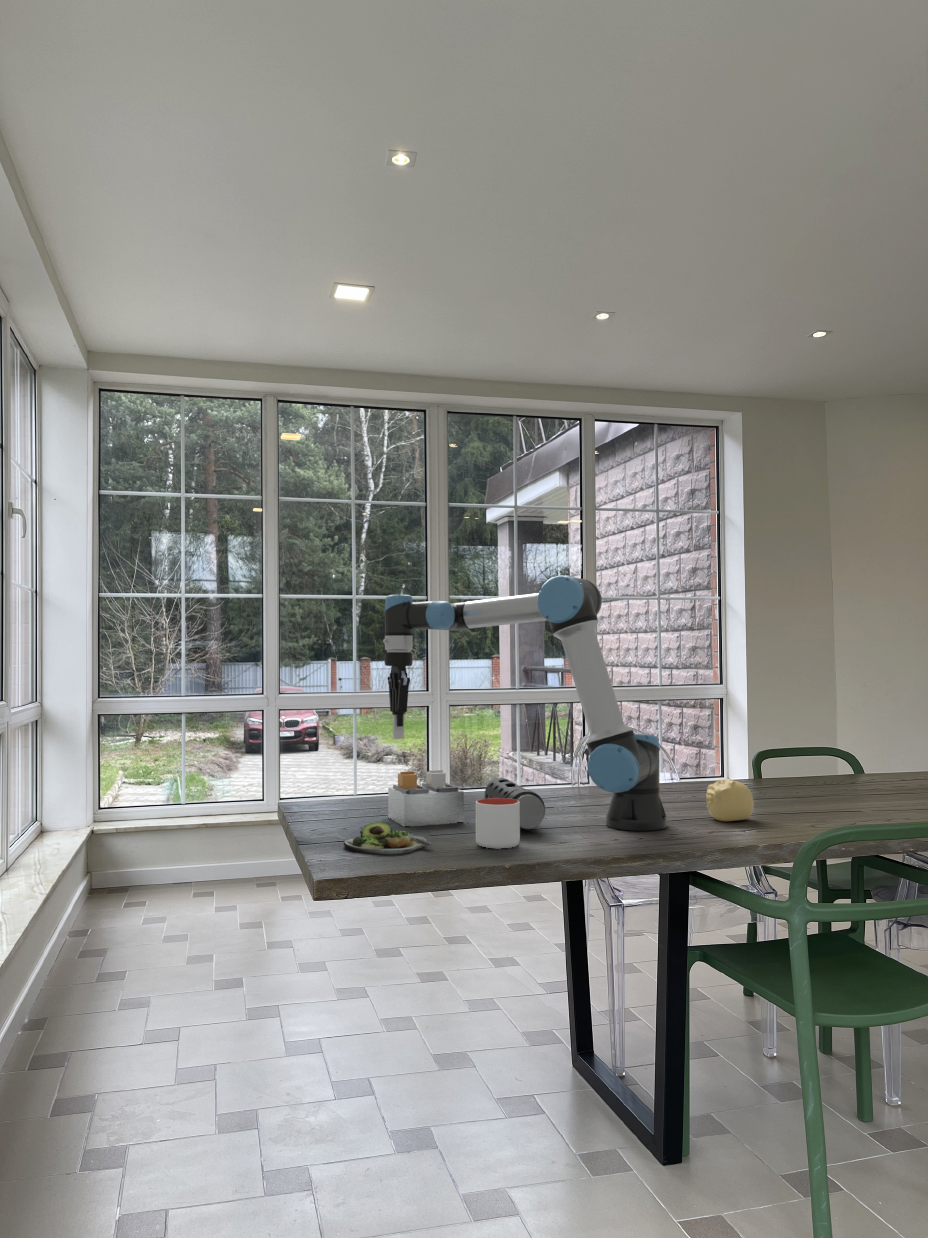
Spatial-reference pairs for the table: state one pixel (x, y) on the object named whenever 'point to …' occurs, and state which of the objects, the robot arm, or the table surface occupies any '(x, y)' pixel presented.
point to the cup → (497, 822)
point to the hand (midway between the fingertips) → (398, 738)
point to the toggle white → (436, 778)
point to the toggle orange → (407, 780)
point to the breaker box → (425, 805)
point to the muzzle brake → (529, 801)
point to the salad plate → (384, 840)
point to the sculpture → (729, 800)
